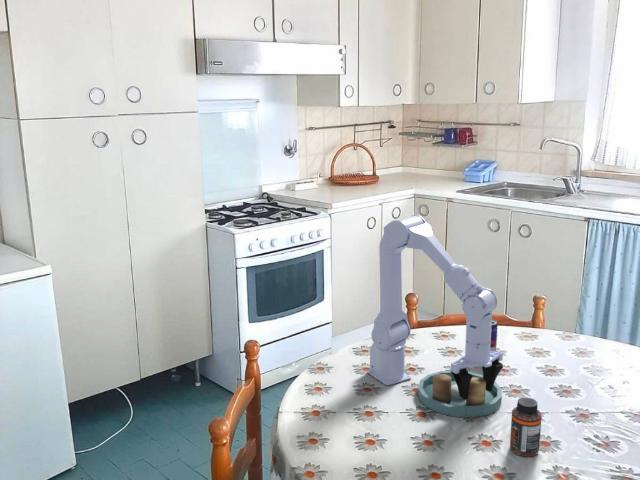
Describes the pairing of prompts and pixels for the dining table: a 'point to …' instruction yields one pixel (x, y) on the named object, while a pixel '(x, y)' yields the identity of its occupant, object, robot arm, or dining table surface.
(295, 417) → the dining table surface
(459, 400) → the ring tray
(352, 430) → the dining table surface
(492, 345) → the energy drink
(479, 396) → the oak bead
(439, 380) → the brown wooden peg
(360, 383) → the dining table surface
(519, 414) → the supplement bottle
